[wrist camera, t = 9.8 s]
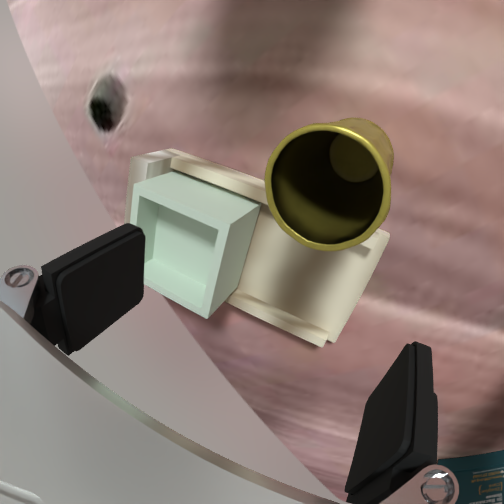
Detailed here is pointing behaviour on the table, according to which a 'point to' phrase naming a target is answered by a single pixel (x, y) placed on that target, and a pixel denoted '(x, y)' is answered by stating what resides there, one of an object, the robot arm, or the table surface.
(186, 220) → the box
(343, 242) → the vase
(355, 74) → the table surface
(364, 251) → the cream rectangular tray
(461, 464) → the donation box
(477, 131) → the table surface
